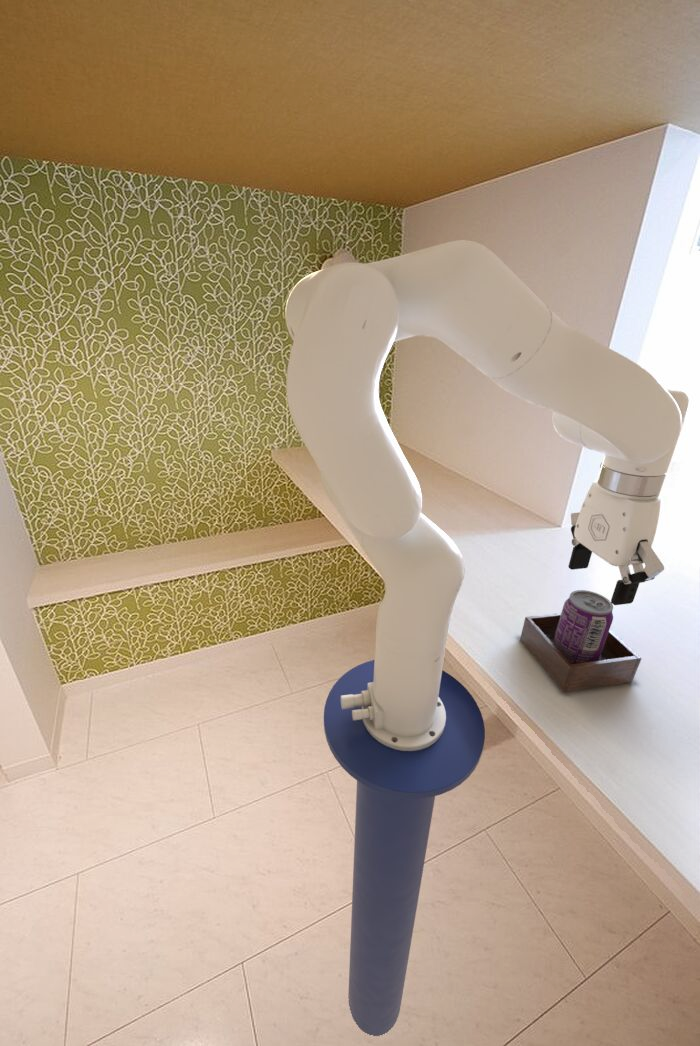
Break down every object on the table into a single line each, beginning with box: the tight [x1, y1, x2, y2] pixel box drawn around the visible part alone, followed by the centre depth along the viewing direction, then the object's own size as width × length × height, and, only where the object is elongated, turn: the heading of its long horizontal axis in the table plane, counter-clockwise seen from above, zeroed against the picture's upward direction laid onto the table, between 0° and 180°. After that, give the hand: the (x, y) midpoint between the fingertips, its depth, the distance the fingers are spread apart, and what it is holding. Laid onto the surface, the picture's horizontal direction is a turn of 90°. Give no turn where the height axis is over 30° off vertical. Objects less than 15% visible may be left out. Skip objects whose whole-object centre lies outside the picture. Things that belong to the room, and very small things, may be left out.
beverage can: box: [552, 589, 614, 665], centre depth 71 cm, size 7×7×12 cm
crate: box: [519, 612, 642, 693], centre depth 72 cm, size 12×12×5 cm
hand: (598, 584), depth 67 cm, fingers open, 9 cm apart
